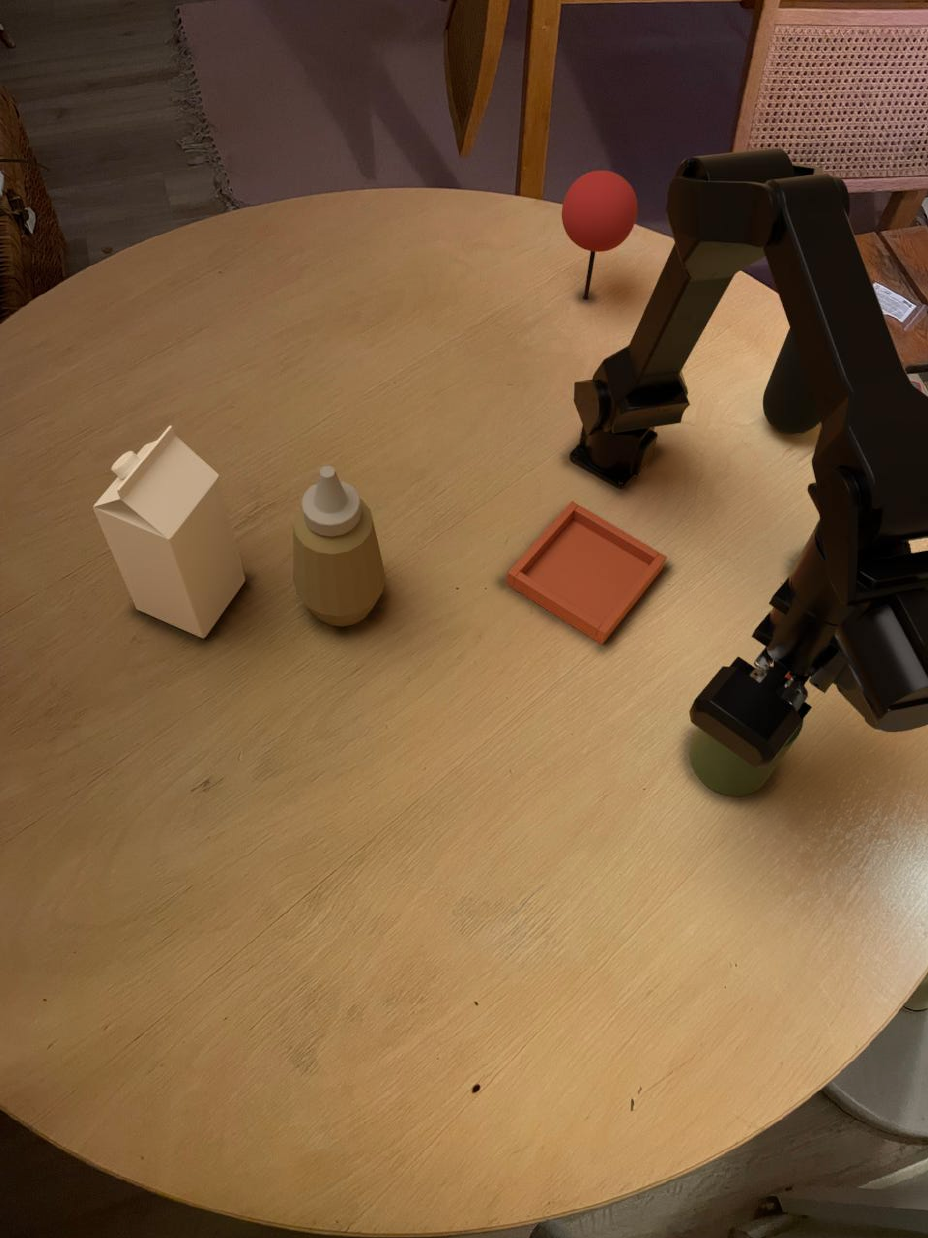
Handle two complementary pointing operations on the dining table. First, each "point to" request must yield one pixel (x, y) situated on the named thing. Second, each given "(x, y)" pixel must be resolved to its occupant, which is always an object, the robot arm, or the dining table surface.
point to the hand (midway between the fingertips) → (765, 702)
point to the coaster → (586, 571)
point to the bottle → (730, 766)
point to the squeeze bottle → (336, 552)
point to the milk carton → (172, 534)
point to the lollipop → (599, 214)
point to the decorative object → (790, 393)
